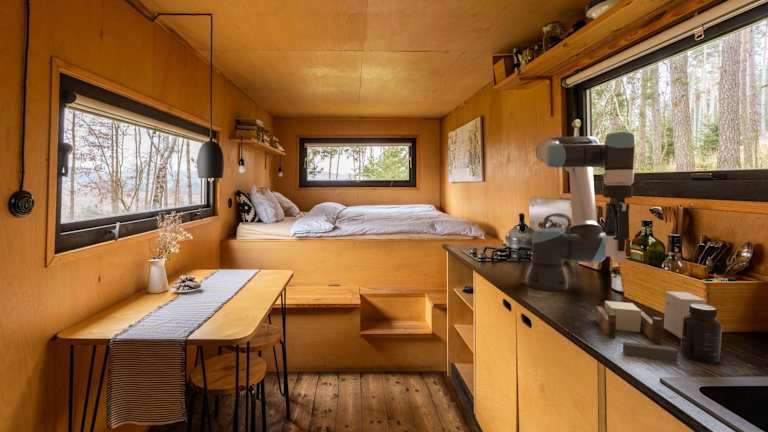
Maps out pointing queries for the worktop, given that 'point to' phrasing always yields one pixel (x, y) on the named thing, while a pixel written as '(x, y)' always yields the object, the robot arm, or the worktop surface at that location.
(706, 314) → the supplement bottle
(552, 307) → the worktop surface
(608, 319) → the chute
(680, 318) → the small box
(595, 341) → the worktop surface
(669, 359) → the bar
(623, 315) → the block
